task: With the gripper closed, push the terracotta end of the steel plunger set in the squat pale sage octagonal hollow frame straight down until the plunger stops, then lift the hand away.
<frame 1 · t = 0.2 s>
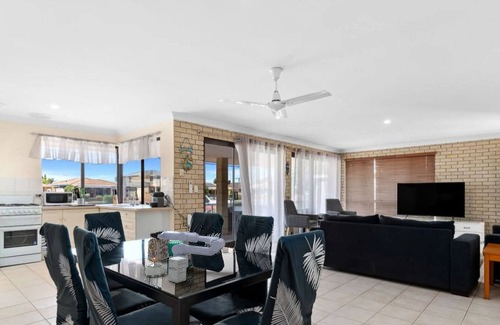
hand: (153, 234, 215), 21 cm above the table, tool horizontal, fingers open, 7 cm apart
plunger: (154, 262, 192), point 7 cm above the table, slide at 0.0 cm
supplement box: (177, 280, 179), on the table
octagonal hollow frame: (154, 274, 192), on the table
decorative jar: (158, 259, 234), on the table
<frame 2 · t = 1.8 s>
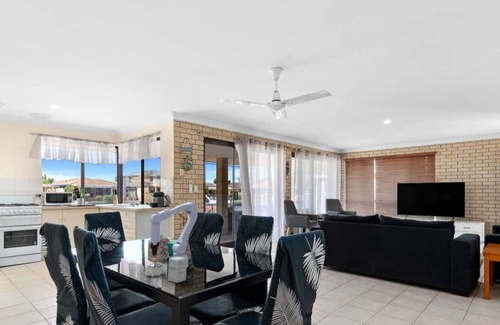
hand: (154, 254, 200), 10 cm above the table, tool pointing down, fingers open, 5 cm apart
nothing on the table moved.
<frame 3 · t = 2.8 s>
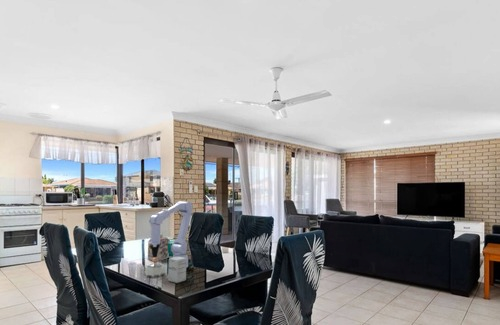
hand: (154, 256, 193), 10 cm above the table, tool pointing down, fingers closed
nothing on the table moved.
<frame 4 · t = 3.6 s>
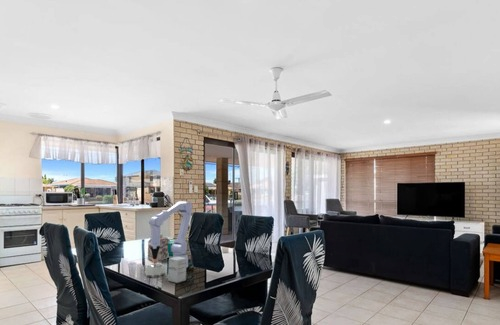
hand: (154, 258, 193), 9 cm above the table, tool pointing down, fingers closed, pressing on plunger
plunger: (154, 262, 192), point 7 cm above the table, slide at 0.2 cm, touching gripper
everything else where it was.
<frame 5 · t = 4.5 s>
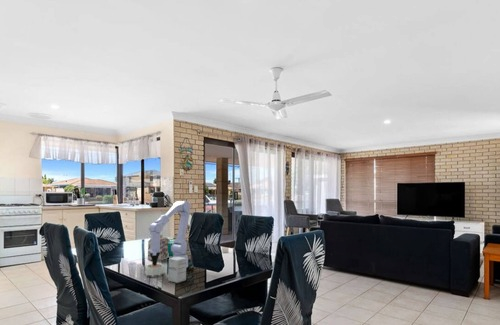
hand: (154, 265, 192), 5 cm above the table, tool pointing down, fingers closed, pressing on plunger
plunger: (154, 268, 192), point 3 cm above the table, slide at 4.1 cm, touching gripper
everything else where it was.
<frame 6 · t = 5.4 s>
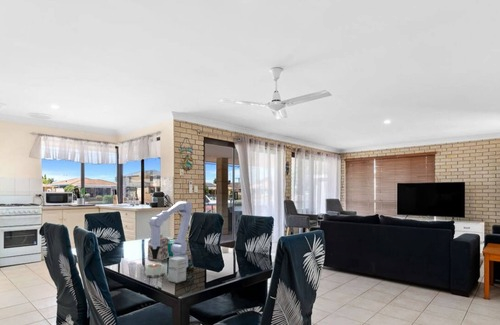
hand: (154, 259, 193), 9 cm above the table, tool pointing down, fingers closed
plunger: (154, 268, 192), point 3 cm above the table, slide at 4.1 cm
everything else where it was.
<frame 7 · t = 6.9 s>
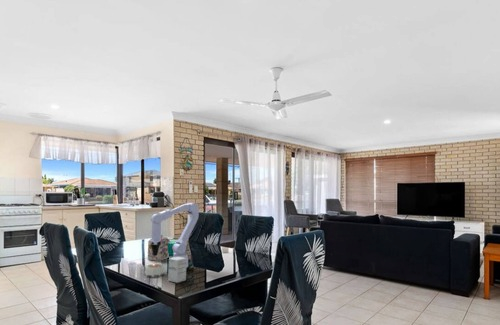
hand: (155, 254, 201), 10 cm above the table, tool pointing down, fingers open, 7 cm apart
nothing on the table moved.
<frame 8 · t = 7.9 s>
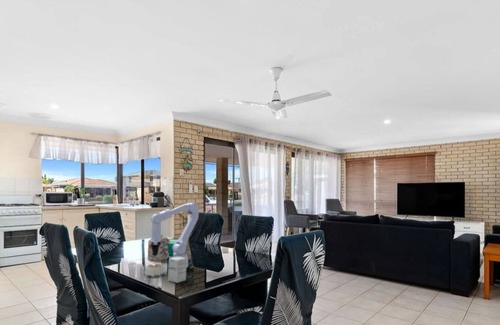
hand: (155, 254, 201), 10 cm above the table, tool pointing down, fingers open, 7 cm apart
nothing on the table moved.
at the end: plunger slide at 4.1 cm; the gripper is holding nothing; supplement box moved 0.3 cm from its start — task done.
